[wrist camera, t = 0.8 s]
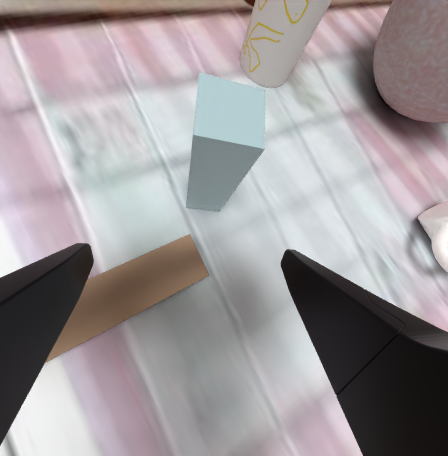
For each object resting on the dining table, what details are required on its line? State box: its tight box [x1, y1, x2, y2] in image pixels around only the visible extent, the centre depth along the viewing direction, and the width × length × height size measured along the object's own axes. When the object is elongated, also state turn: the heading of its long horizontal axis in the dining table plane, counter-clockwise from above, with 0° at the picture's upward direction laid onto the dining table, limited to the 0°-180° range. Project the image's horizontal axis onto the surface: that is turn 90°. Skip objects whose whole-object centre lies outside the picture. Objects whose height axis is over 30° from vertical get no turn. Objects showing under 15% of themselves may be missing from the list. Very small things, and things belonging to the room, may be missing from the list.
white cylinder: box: [240, 0, 332, 88], centre depth 23 cm, size 8×8×12 cm
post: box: [186, 72, 265, 212], centre depth 17 cm, size 4×4×13 cm
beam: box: [45, 234, 209, 363], centre depth 17 cm, size 4×18×3 cm, turn 117°
